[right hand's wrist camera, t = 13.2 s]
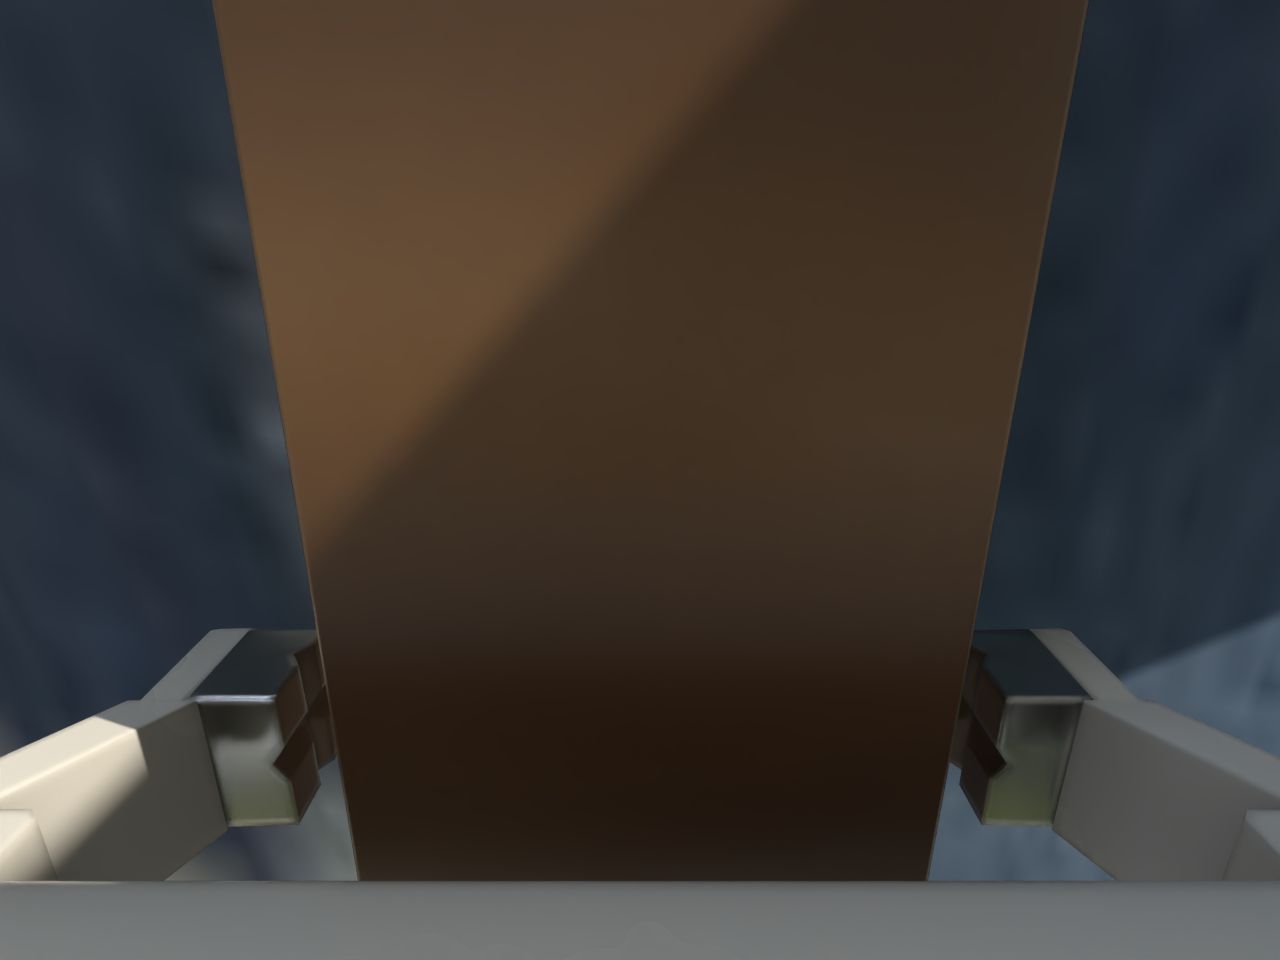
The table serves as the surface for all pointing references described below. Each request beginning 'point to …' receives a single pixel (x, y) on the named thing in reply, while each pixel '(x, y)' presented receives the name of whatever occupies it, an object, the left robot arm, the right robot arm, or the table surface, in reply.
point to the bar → (647, 409)
